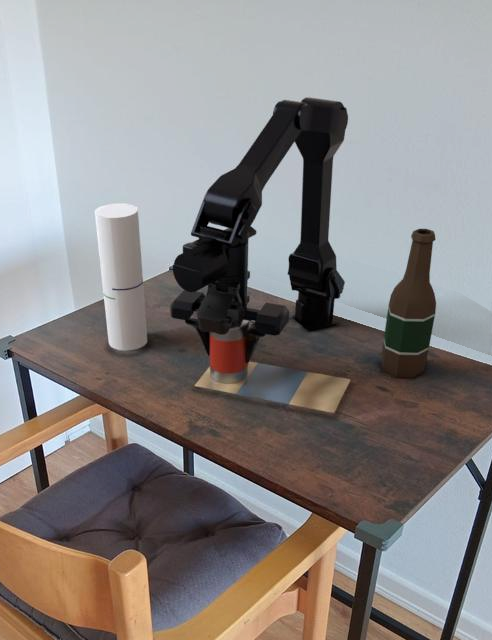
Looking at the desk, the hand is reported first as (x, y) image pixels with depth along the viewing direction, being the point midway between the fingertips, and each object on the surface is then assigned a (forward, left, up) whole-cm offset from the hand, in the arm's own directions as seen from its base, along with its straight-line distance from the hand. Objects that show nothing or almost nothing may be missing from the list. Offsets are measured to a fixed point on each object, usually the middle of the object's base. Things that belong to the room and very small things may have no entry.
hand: (228, 358), depth 127 cm
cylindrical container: (+12, -19, -4) cm, 23 cm away
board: (-6, +6, -4) cm, 9 cm away
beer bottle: (-29, +9, -4) cm, 31 cm away
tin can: (0, 0, -3) cm, 3 cm away
